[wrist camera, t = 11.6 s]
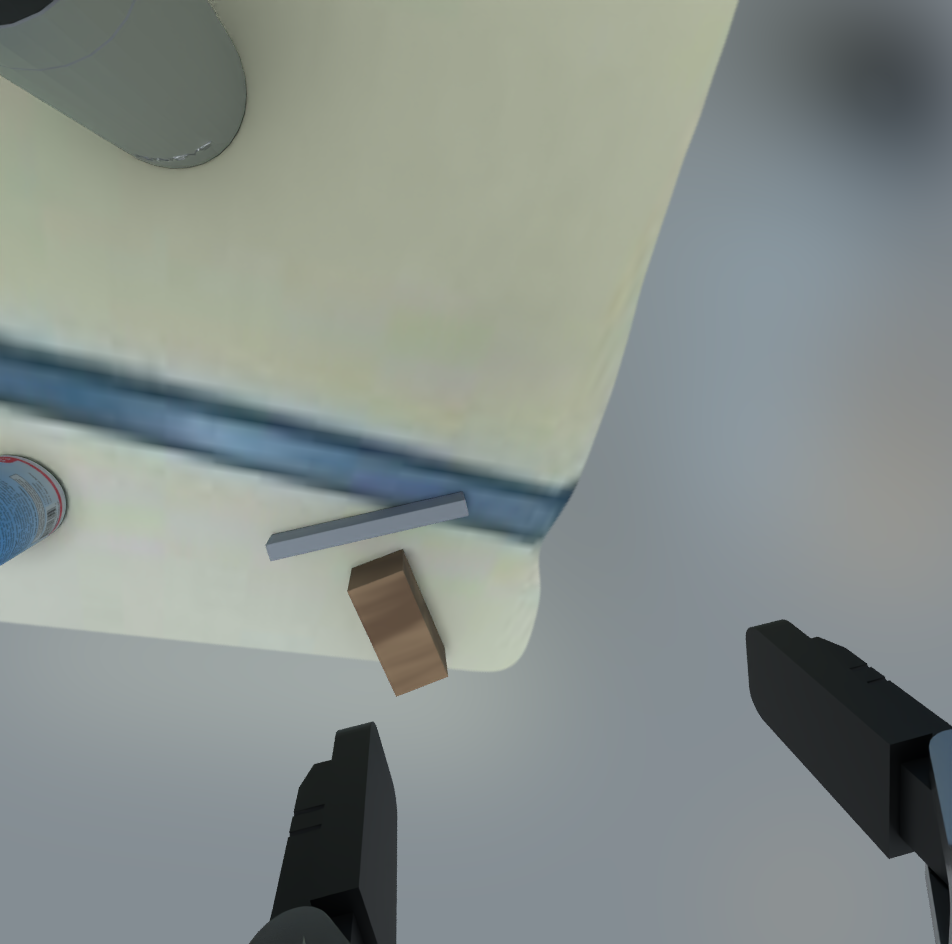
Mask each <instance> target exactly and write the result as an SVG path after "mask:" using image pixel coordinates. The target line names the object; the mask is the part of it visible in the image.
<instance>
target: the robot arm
mask: <svg viewBox="0 0 952 944" xmlns="http://www.w3.org/2000/svg"><path fill="white" fill-rule="evenodd" d="M0 75H1V76H2V77H4V78H5V79H7V80H9V81H10V82H12V83H14V84H15V85H17V86H19V87H20V88H22V89H24V90H25V91H27V92H28V93H30V94H32V95H33V96H35V97H37V98H38V99H40V100H42V101H43V102H45V103H46V104H48V105H50V106H51V107H53V108H55V109H56V110H58V111H60V112H61V113H63V114H64V115H66V116H68V117H69V118H71V119H73V120H74V121H76V122H78V123H79V124H81V125H82V126H84V127H86V128H87V129H89V130H91V131H92V132H94V133H95V134H97V135H99V136H100V137H102V138H104V139H105V140H107V141H109V142H110V143H112V144H114V145H116V146H117V147H119V148H121V149H122V150H124V151H126V152H127V153H129V154H131V155H132V156H134V157H136V158H137V159H139V160H142V161H144V162H147V163H150V164H152V165H155V166H161V167H168V168H185V167H192V166H195V165H198V164H202V163H205V162H207V161H208V160H210V159H212V158H213V157H215V156H217V155H218V154H220V153H221V152H222V151H223V150H224V149H225V148H226V147H227V146H228V145H229V144H230V143H231V141H232V139H233V138H234V136H235V134H236V133H237V131H238V129H239V127H240V124H241V121H242V118H243V115H244V112H245V103H246V84H245V75H244V71H243V67H242V64H241V60H240V57H239V55H238V53H237V51H236V48H235V46H234V44H233V42H232V40H231V38H230V37H229V35H228V33H227V32H226V30H225V28H224V27H223V25H222V23H221V22H220V20H219V18H218V17H217V15H216V13H215V12H214V10H213V8H212V7H211V5H210V3H209V1H208V0H0ZM746 648H747V662H748V676H749V688H750V694H751V698H752V701H753V703H754V705H755V707H756V709H757V711H758V713H759V715H760V716H761V718H762V719H763V720H764V721H765V722H766V724H767V725H768V726H769V727H770V728H771V729H772V730H773V731H774V732H775V734H776V735H777V736H778V737H779V738H780V739H781V740H782V741H783V742H784V744H785V745H786V746H787V747H788V748H789V749H790V750H791V751H792V752H793V754H795V756H796V757H797V758H798V759H799V760H800V761H801V762H802V763H803V765H804V766H805V767H806V768H807V769H808V770H809V771H810V772H811V773H812V774H813V776H814V777H815V778H816V779H817V780H818V781H819V782H820V783H821V784H822V786H823V787H824V788H825V789H826V790H827V791H828V792H829V793H830V794H831V795H832V797H833V798H834V799H835V800H836V801H837V802H838V803H839V804H840V805H841V806H842V808H843V809H844V810H845V811H846V812H847V813H848V814H849V815H850V816H851V817H852V819H853V820H854V821H855V822H856V823H857V824H858V825H859V826H860V827H861V828H862V830H863V831H864V832H865V833H866V834H867V835H868V836H869V837H870V838H871V840H872V841H873V842H874V843H875V844H876V845H877V846H878V847H879V848H880V850H881V851H882V852H883V853H884V854H885V855H886V856H887V857H888V858H889V859H890V858H894V857H897V856H901V855H904V854H908V853H911V852H916V853H917V854H918V856H919V857H920V858H921V859H922V860H923V861H924V862H925V863H926V865H925V879H926V885H927V891H928V898H929V905H930V911H931V917H932V924H933V930H934V936H935V943H936V944H952V726H951V725H949V724H948V723H947V722H945V721H944V720H943V719H941V718H940V717H939V716H937V715H936V714H934V713H933V712H932V711H930V710H929V709H928V708H926V707H925V706H923V705H922V704H921V703H919V702H918V701H917V700H915V699H914V698H913V697H911V696H910V695H909V694H907V693H906V692H905V691H903V690H902V689H901V688H899V687H898V686H897V685H895V684H894V683H892V682H891V681H887V680H886V679H885V677H884V676H883V675H882V674H880V673H879V672H877V671H876V670H875V669H873V668H872V667H868V666H867V663H865V662H864V661H863V660H861V659H860V658H859V657H857V656H856V655H854V654H853V653H852V652H850V651H849V650H848V649H846V648H844V647H842V646H839V645H837V644H834V643H832V642H830V641H827V640H825V639H822V638H820V637H815V638H809V637H808V636H807V635H806V634H804V633H803V632H802V631H801V630H799V629H798V628H797V627H795V626H794V625H793V624H791V623H790V622H789V621H787V620H779V621H774V622H770V623H766V624H762V625H758V626H754V627H750V628H748V630H747V632H746ZM289 833H290V837H288V841H287V845H286V850H285V854H284V859H283V864H282V868H281V873H280V878H279V882H278V887H277V892H276V896H275V900H274V905H273V910H272V914H271V918H270V921H269V922H268V923H267V924H266V925H265V926H264V927H263V928H262V929H261V930H260V931H259V932H258V933H257V934H256V935H255V936H254V938H253V939H252V940H251V942H250V943H249V944H396V904H397V805H396V797H395V791H394V786H393V782H392V778H391V775H390V771H389V767H388V764H387V761H386V757H385V754H384V751H383V747H382V744H381V740H380V737H379V733H378V730H377V727H376V725H375V723H374V722H369V723H365V724H361V725H358V726H353V727H349V728H346V729H342V730H338V731H337V732H336V736H335V742H334V749H333V755H332V760H329V761H325V762H321V763H317V764H314V765H313V767H312V768H311V770H310V771H309V773H308V775H307V776H306V778H305V779H304V781H303V782H302V784H301V785H300V787H299V790H298V795H297V799H296V804H295V809H294V817H293V818H292V822H291V827H290V831H289Z"/></svg>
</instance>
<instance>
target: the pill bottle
mask: <svg viewBox="0 0 952 944" xmlns="http://www.w3.org/2000/svg"><path fill="white" fill-rule="evenodd" d="M65 510H66V499H65V495H64V492H63V489H62V487H61V486H60V484H59V483H58V481H57V480H56V479H55V478H54V476H53V475H52V474H51V473H49V472H48V471H47V470H46V469H44V468H43V467H42V466H40V465H39V464H37V463H35V462H33V461H31V460H29V459H26V458H23V457H18V456H11V455H3V456H0V566H1V565H2V564H4V563H5V562H7V561H9V560H10V559H12V558H14V557H15V556H17V555H18V554H20V553H22V552H23V551H25V550H26V549H28V548H30V547H31V546H33V545H35V544H36V543H38V542H39V541H41V540H43V539H44V538H46V537H47V536H49V535H50V534H52V533H53V532H54V531H55V530H56V529H57V528H58V527H59V525H60V524H61V522H62V520H63V518H64V515H65Z"/></svg>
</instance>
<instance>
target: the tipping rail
mask: <svg viewBox="0 0 952 944" xmlns="http://www.w3.org/2000/svg"><path fill="white" fill-rule="evenodd" d="M465 516H469V514H468V510H467V505H466V500H465V497H464V494H463V492H458V493H454V494H450V495H445V496H441V497H436V498H432V499H427V500H423V501H419V502H414V503H410V504H405V505H401V506H397V507H392V508H388V509H383V510H379V511H375V512H370V513H366V514H361V515H357V516H352V517H348V518H344V519H339V520H335V521H330V522H326V523H322V524H317V525H313V526H308V527H304V528H300V529H295V530H291V531H286V532H282V533H277V534H273V535H271V537H270V539H269V540H268V542H267V544H266V549H267V552H268V555H269V558H270V561H273V560H278V559H282V558H286V557H291V556H295V555H299V554H304V553H308V552H312V551H317V550H321V549H325V548H330V547H334V546H339V545H343V544H347V543H352V542H356V541H360V540H365V539H369V538H373V537H378V536H382V535H386V534H391V533H395V532H399V531H404V530H408V529H413V528H417V527H421V526H426V525H430V524H434V523H439V522H443V521H447V520H452V519H456V518H460V517H465Z"/></svg>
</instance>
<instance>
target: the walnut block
mask: <svg viewBox="0 0 952 944" xmlns="http://www.w3.org/2000/svg"><path fill="white" fill-rule="evenodd" d="M347 592H348V594H349V596H350V598H351V600H352V603H353V605H354V607H355V609H356V611H357V613H358V616H359V618H360V620H361V622H362V624H363V626H364V628H365V631H366V633H367V635H368V637H369V639H370V641H371V643H372V646H373V648H374V650H375V652H376V654H377V656H378V658H379V661H380V663H381V665H382V667H383V669H384V671H385V673H386V675H387V678H388V680H389V682H390V684H391V686H392V689H393V691H394V693H395V695H396V697H397V696H399V695H402V694H404V693H407V692H410V691H412V690H415V689H417V688H420V687H422V686H425V685H427V684H430V683H433V682H435V681H438V680H441V679H443V678H446V677H448V671H447V664H446V656H445V649H444V646H443V643H442V641H441V639H440V636H439V634H438V632H437V629H436V627H435V625H434V622H433V620H432V617H431V615H430V613H429V610H428V608H427V606H426V603H425V601H424V599H423V596H422V594H421V591H420V589H419V587H418V584H417V582H416V580H415V577H414V575H413V573H412V570H411V568H410V565H409V563H408V561H407V558H406V556H405V554H404V551H403V549H402V550H399V551H396V552H394V553H391V554H389V555H386V556H383V557H381V558H378V559H375V560H373V561H370V562H367V563H365V564H362V565H359V566H357V567H354V568H352V570H351V575H350V581H349V586H348V591H347Z"/></svg>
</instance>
